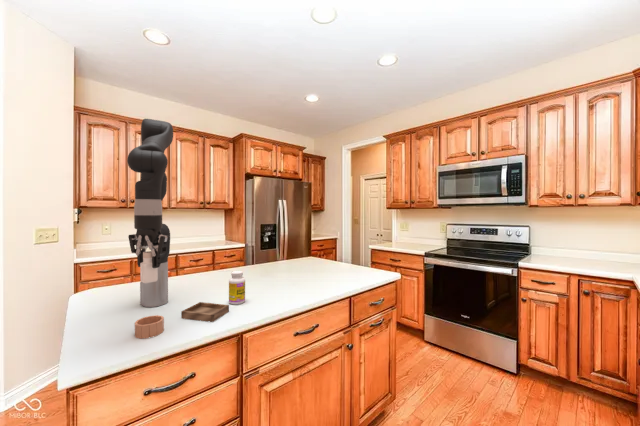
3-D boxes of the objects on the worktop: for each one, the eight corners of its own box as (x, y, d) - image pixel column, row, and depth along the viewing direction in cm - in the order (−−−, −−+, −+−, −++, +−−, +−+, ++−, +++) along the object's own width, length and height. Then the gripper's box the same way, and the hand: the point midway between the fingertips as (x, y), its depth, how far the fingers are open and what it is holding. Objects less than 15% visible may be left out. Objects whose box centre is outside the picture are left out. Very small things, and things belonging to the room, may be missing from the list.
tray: (181, 318, 98) (181, 311, 98) (199, 308, 107) (199, 302, 107) (212, 322, 94) (212, 315, 94) (228, 311, 104) (228, 305, 104)
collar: (128, 336, 84) (128, 324, 83) (150, 326, 91) (149, 314, 91) (149, 339, 82) (149, 326, 82) (169, 328, 89) (169, 316, 89)
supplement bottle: (236, 306, 110) (236, 274, 110) (225, 303, 113) (225, 272, 113) (248, 301, 116) (248, 271, 115) (237, 298, 119) (237, 269, 119)
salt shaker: (143, 284, 83) (143, 253, 83) (139, 281, 86) (139, 251, 86) (158, 281, 86) (158, 251, 86) (154, 279, 89) (153, 250, 89)
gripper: (176, 213, 87) (176, 266, 88) (140, 213, 91) (141, 263, 91) (157, 214, 80) (157, 271, 81) (119, 213, 84) (119, 268, 84)
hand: (148, 266), depth 86 cm, fingers closed on salt shaker, 5 cm apart
